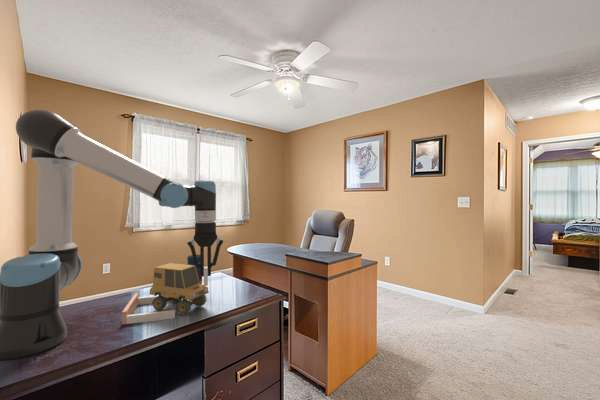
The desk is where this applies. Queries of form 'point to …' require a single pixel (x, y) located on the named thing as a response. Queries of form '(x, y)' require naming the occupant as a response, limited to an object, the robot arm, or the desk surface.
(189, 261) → the cup
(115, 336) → the desk surface
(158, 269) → the toy car
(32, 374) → the desk surface
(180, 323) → the desk surface
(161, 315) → the bay
